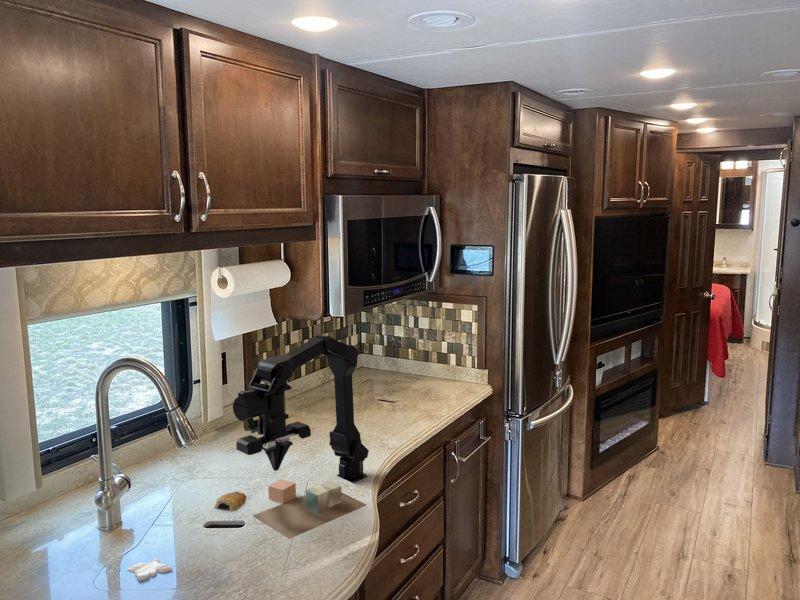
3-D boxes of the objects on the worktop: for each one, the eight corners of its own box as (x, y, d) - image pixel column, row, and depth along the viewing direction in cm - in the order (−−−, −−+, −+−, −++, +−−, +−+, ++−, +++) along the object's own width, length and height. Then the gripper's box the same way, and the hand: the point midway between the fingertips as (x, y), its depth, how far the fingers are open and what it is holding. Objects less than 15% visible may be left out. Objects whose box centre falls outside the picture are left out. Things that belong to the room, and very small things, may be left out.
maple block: (306, 506, 165) (330, 496, 170) (316, 512, 161) (341, 502, 167) (305, 490, 164) (330, 480, 170) (316, 495, 161) (341, 485, 166)
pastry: (229, 497, 174) (229, 484, 173) (252, 500, 172) (252, 487, 171) (211, 513, 165) (210, 499, 164) (235, 516, 163) (234, 502, 162)
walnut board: (328, 490, 177) (328, 486, 177) (367, 509, 166) (366, 504, 165) (252, 520, 160) (252, 515, 160) (289, 543, 149) (289, 538, 149)
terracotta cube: (281, 496, 174) (281, 479, 173) (296, 500, 171) (295, 483, 170) (269, 503, 169) (268, 485, 169) (283, 508, 167) (282, 490, 166)
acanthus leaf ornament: (172, 573, 139) (172, 565, 138) (141, 586, 134) (141, 578, 134) (157, 559, 144) (156, 551, 144) (126, 572, 139) (125, 564, 139)
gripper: (285, 396, 172) (287, 451, 174) (223, 411, 158) (225, 472, 161) (311, 404, 164) (312, 463, 166) (247, 421, 151) (250, 485, 153)
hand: (275, 470), depth 162 cm, fingers closed
